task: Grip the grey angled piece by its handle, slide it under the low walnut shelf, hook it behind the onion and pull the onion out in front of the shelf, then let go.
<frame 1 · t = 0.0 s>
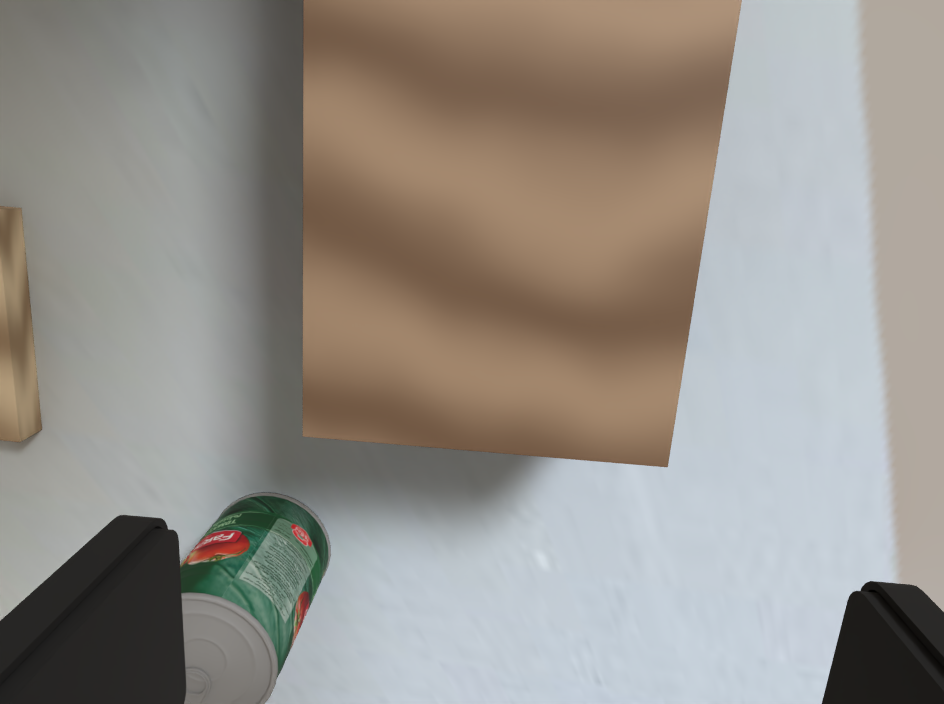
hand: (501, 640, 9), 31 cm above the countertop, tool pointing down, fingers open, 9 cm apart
canned tomato: (273, 544, 45), on the countertop
wooden bar: (16, 320, 42), on the countertop
shelf: (511, 105, 37), on the countertop
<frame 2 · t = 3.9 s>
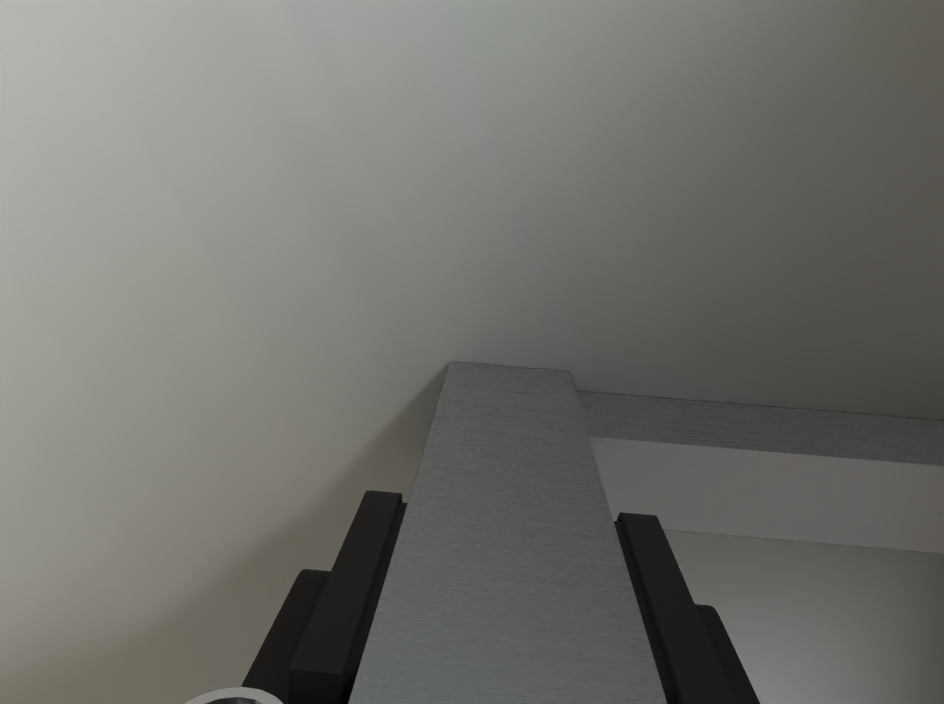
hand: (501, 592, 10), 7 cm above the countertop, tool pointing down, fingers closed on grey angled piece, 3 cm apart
grey angled piece: (504, 422, 17), on the countertop, touching gripper
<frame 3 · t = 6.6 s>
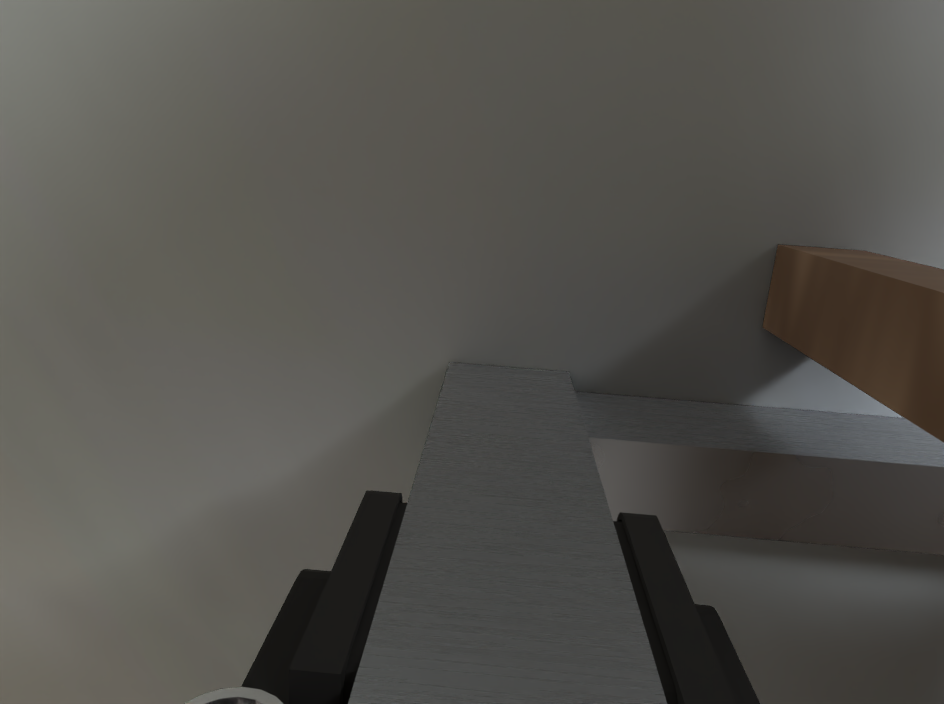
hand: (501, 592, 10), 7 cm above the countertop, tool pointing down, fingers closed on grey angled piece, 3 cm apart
grey angled piece: (504, 423, 17), on the countertop, touching gripper
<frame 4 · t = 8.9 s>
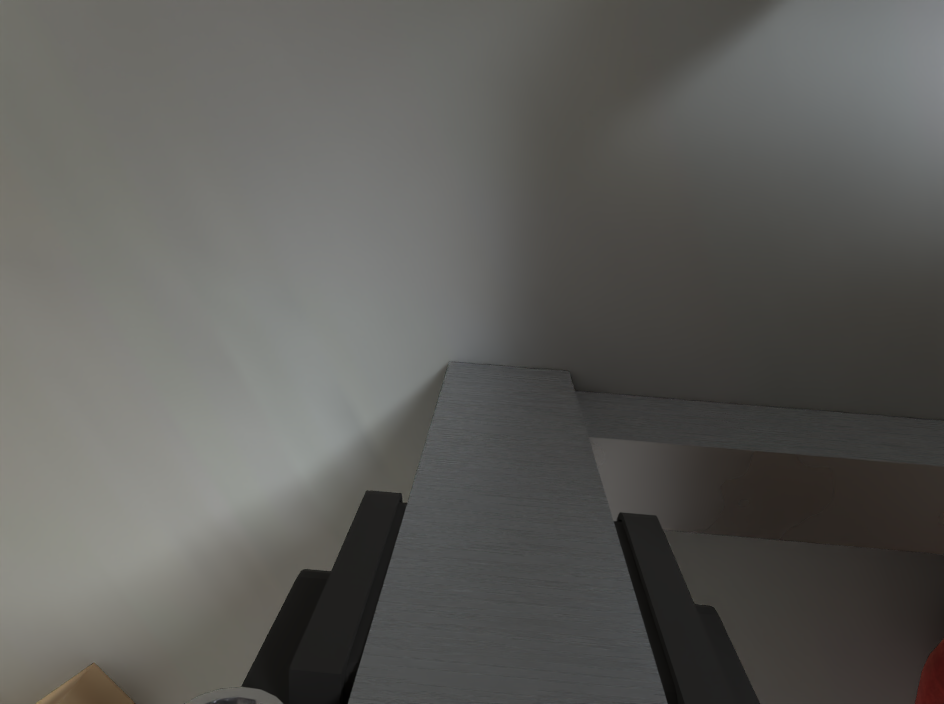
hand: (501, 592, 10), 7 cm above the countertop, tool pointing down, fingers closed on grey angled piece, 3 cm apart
grey angled piece: (504, 422, 17), on the countertop, touching gripper
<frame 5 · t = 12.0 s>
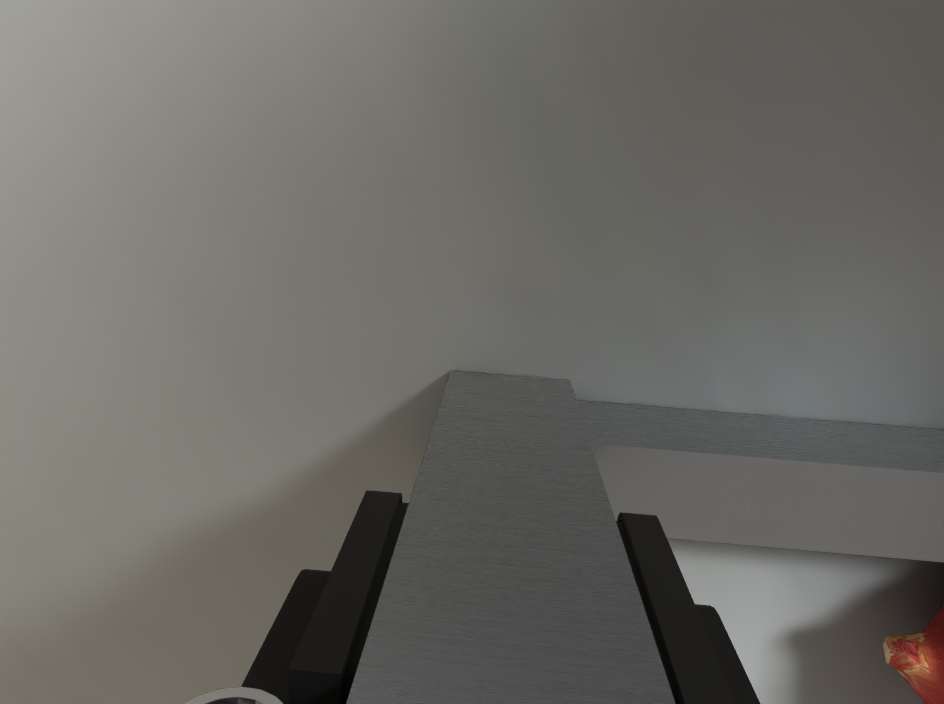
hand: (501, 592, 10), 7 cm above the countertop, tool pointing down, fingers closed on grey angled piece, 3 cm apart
grey angled piece: (505, 431, 17), on the countertop, touching gripper, onion
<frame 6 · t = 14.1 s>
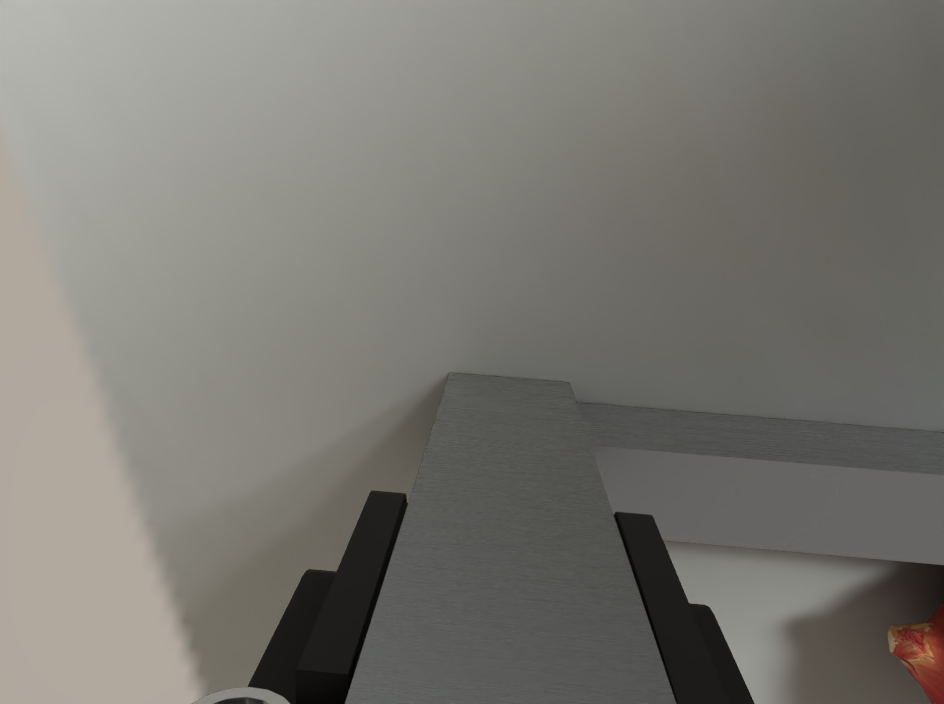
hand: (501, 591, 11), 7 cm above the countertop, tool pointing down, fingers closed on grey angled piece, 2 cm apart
grey angled piece: (504, 434, 17), on the countertop, touching gripper, onion
when the fingers open (7 cm above the countertop, at t = 14.2 s): grey angled piece stays where it is, on the countertop.
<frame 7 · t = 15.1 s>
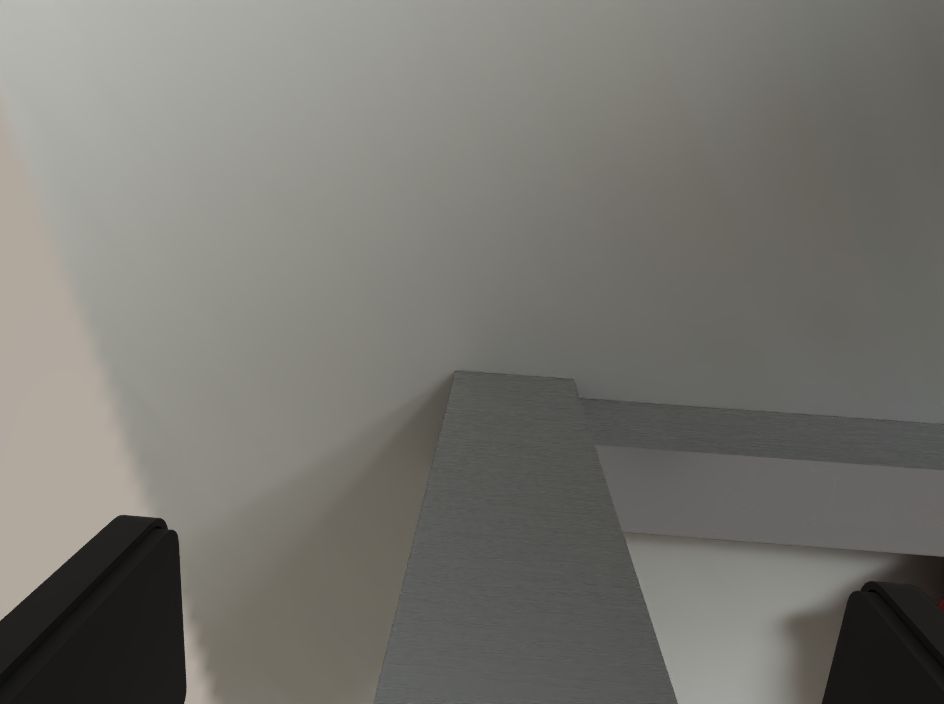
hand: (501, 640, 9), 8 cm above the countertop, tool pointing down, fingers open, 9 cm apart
grey angled piece: (509, 430, 18), on the countertop
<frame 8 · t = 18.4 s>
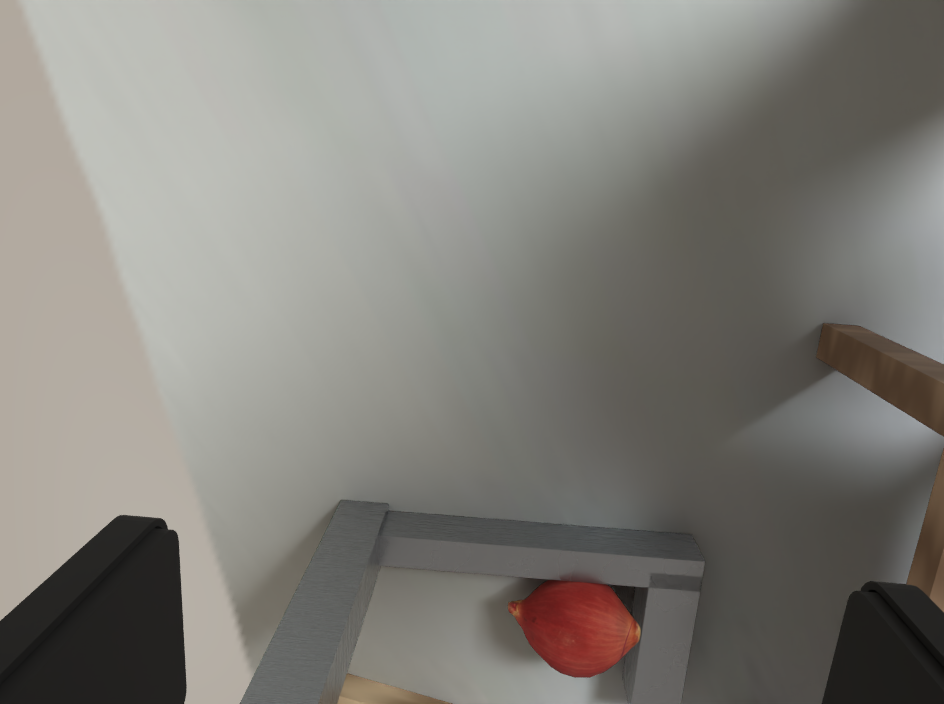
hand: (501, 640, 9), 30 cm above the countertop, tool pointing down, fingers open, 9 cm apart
grey angled piece: (364, 523, 43), on the countertop
wooden bar: (413, 703, 47), on the countertop
onion: (643, 637, 40), point 4 cm above the countertop
shelf: (897, 560, 42), on the countertop
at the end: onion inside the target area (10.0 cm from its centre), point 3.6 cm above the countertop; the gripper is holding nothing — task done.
